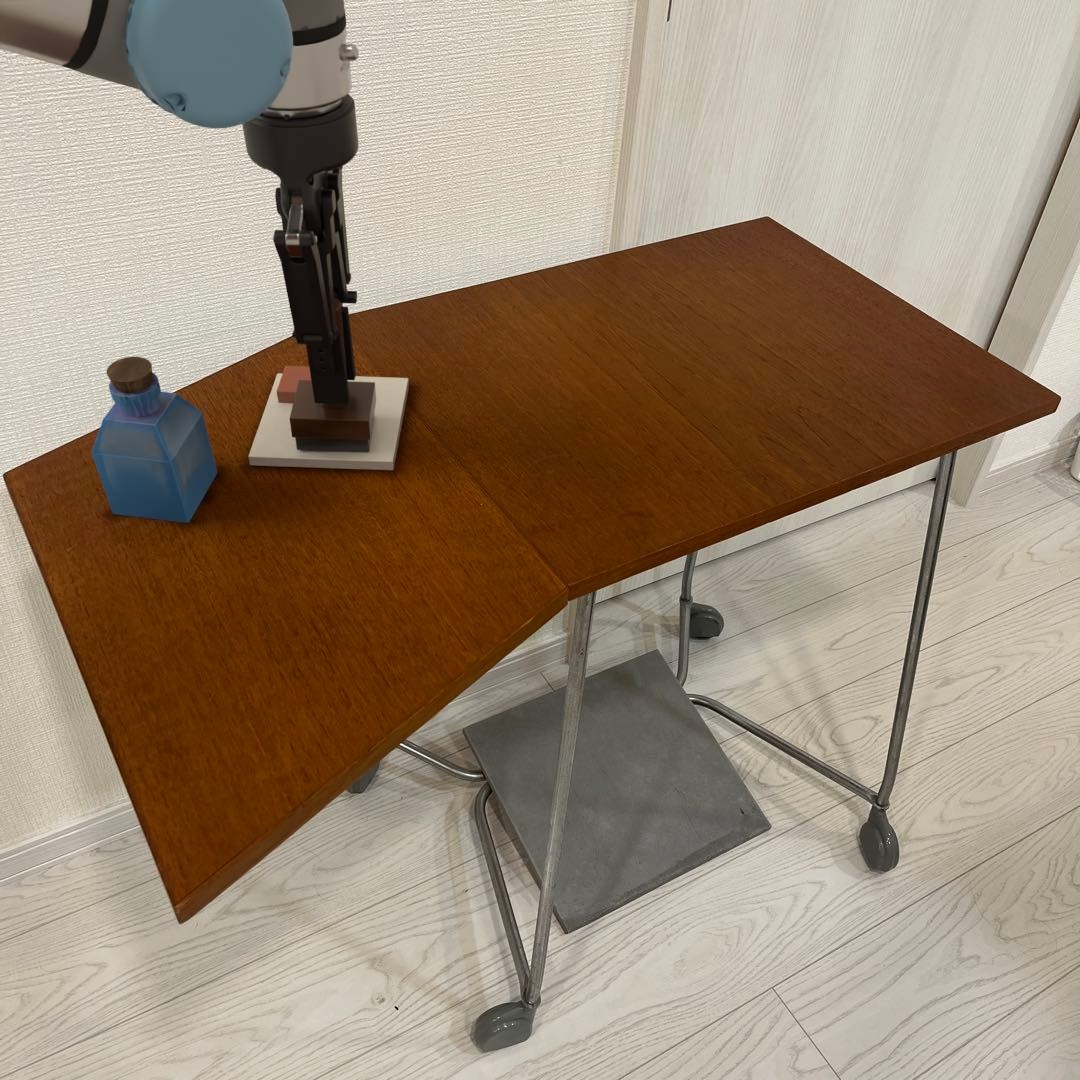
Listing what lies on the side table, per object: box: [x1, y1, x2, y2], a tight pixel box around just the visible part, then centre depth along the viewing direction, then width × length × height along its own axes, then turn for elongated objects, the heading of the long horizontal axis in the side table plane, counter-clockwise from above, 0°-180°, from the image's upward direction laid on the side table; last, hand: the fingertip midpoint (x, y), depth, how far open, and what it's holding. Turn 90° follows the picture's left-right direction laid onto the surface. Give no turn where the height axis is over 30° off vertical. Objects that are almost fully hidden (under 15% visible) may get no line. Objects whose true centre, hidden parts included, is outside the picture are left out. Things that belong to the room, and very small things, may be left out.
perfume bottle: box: [91, 356, 219, 524], centre depth 78 cm, size 6×6×12 cm
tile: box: [248, 372, 410, 471], centre depth 88 cm, size 12×12×1 cm
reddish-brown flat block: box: [277, 365, 311, 403], centre depth 90 cm, size 4×4×1 cm
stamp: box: [289, 298, 376, 452], centre depth 82 cm, size 6×5×12 cm
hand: (335, 388), depth 83 cm, fingers closed on stamp, 3 cm apart
